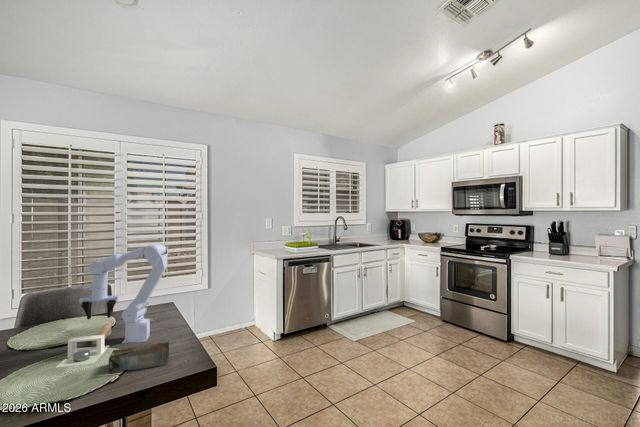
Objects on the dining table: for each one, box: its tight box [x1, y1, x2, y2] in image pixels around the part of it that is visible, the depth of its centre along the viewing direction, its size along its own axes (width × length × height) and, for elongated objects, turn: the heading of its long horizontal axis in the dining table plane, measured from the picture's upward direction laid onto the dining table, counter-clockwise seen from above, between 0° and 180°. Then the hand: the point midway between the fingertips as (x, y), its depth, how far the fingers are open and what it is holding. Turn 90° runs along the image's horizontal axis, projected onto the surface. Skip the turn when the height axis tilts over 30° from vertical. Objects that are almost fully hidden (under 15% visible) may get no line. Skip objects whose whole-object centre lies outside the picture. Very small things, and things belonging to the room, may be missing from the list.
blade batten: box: [91, 323, 112, 347], centre depth 140 cm, size 2×16×5 cm, turn 17°
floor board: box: [54, 344, 111, 368], centre depth 122 cm, size 12×17×1 cm
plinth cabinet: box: [67, 334, 106, 358], centre depth 124 cm, size 11×4×7 cm, turn 107°
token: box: [73, 350, 90, 362], centre depth 119 cm, size 5×5×2 cm
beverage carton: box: [107, 341, 170, 375], centre depth 116 cm, size 8×19×7 cm, turn 114°
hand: (99, 318), depth 139 cm, fingers open, 7 cm apart
